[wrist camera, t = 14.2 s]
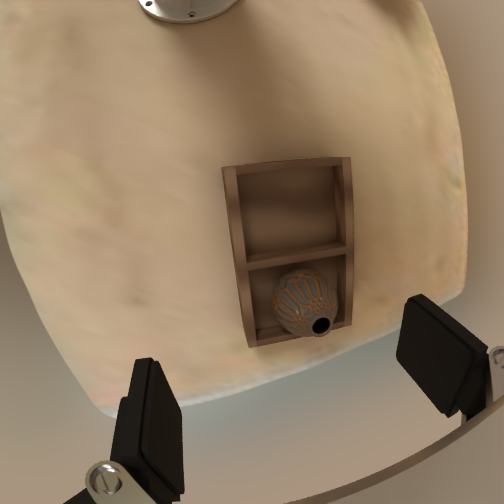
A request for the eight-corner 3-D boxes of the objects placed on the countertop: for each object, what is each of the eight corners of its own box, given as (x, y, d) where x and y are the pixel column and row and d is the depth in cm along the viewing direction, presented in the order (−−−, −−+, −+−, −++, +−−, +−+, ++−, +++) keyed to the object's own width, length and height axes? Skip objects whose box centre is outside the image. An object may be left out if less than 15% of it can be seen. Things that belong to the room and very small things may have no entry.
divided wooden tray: (221, 167, 30) (224, 168, 26) (334, 157, 32) (350, 157, 28) (243, 329, 37) (248, 348, 33) (338, 310, 38) (351, 324, 34)
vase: (262, 314, 35) (281, 358, 26) (269, 259, 33) (291, 293, 24) (316, 313, 36) (345, 352, 28) (325, 261, 34) (361, 291, 26)
